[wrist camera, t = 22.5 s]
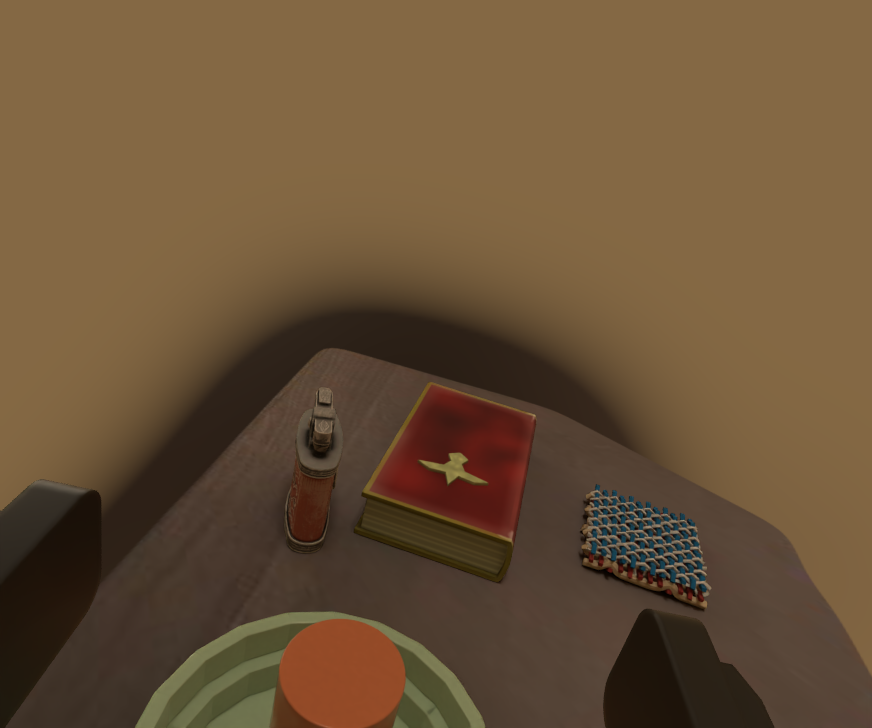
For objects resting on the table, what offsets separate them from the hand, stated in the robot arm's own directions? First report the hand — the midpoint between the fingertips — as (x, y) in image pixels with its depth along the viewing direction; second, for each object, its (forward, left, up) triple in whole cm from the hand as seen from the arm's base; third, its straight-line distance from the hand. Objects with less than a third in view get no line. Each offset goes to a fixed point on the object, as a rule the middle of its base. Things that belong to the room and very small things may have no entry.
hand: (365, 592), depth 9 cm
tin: (-4, +10, -26) cm, 28 cm away
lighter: (-16, +28, -26) cm, 42 cm away
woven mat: (+9, +42, -26) cm, 51 cm away
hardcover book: (-8, +40, -26) cm, 49 cm away
